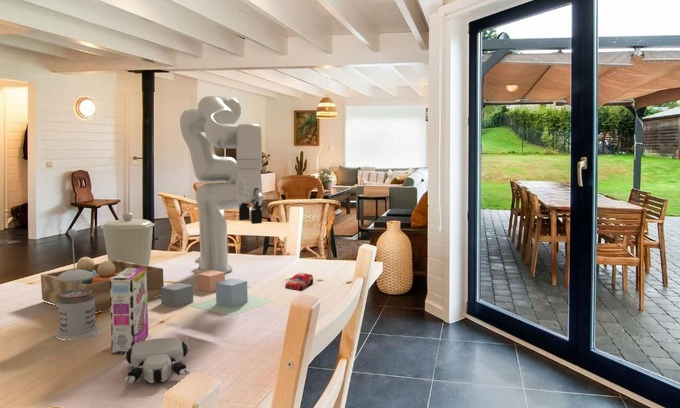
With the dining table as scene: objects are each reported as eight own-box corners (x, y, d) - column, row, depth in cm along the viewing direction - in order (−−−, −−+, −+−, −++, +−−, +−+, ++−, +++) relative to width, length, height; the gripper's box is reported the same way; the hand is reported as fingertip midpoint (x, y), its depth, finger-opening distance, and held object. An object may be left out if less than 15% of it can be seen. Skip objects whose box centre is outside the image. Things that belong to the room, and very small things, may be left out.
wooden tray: (42, 302, 148) (40, 274, 147) (118, 284, 168) (117, 259, 167) (87, 315, 135) (86, 286, 135) (164, 294, 155) (163, 268, 154)
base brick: (216, 304, 141) (215, 282, 141) (232, 298, 146) (231, 278, 146) (231, 307, 138) (231, 285, 138) (247, 302, 143) (247, 281, 143)
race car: (298, 293, 158) (297, 280, 157) (282, 291, 160) (282, 279, 159) (316, 283, 170) (316, 271, 169) (301, 281, 172) (301, 269, 171)
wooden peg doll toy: (151, 293, 157) (149, 253, 156) (108, 309, 141) (106, 265, 140) (104, 288, 163) (102, 249, 162) (58, 303, 147) (56, 260, 146)
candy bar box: (135, 353, 110) (132, 278, 108) (111, 354, 110) (107, 278, 108) (150, 335, 121) (147, 266, 119) (128, 335, 121) (125, 267, 119)
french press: (52, 342, 116) (45, 233, 114) (57, 327, 127) (51, 226, 124) (100, 336, 120) (94, 230, 118) (101, 321, 131) (96, 224, 128)
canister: (150, 262, 201) (148, 208, 199) (161, 271, 186) (158, 213, 184) (100, 267, 192) (97, 211, 190) (106, 277, 176) (103, 216, 174)
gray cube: (161, 308, 142) (160, 287, 141) (179, 303, 147) (178, 282, 146) (175, 312, 139) (175, 290, 138) (193, 306, 144) (192, 285, 143)
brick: (196, 293, 158) (196, 273, 157) (211, 288, 163) (211, 269, 162) (210, 295, 154) (210, 276, 154) (225, 291, 159) (224, 272, 159)
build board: (189, 310, 140) (189, 305, 140) (232, 296, 153) (232, 292, 153) (232, 320, 131) (231, 315, 131) (273, 304, 145) (273, 300, 145)
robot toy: (192, 387, 96) (188, 352, 110) (192, 364, 96) (187, 332, 109) (121, 398, 92) (126, 360, 106) (120, 374, 91) (125, 339, 105)
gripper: (227, 164, 161) (228, 219, 163) (248, 166, 146) (249, 226, 148) (250, 164, 165) (251, 217, 167) (272, 165, 150) (273, 224, 152)
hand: (250, 221), depth 157 cm, fingers open, 9 cm apart
